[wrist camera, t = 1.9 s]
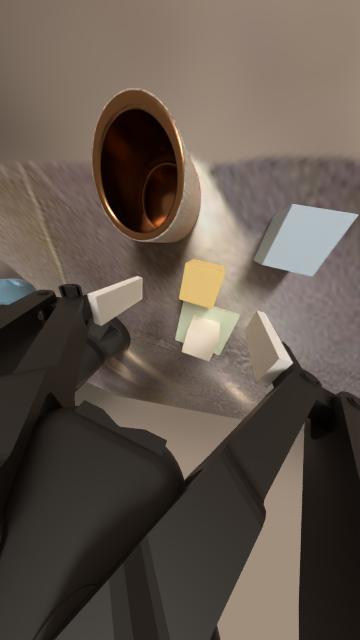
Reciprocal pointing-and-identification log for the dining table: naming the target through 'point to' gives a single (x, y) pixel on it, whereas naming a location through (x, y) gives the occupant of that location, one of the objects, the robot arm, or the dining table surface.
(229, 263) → the dining table surface
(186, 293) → the ochre brick
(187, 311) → the baseplate
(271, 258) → the blue brick
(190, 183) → the planter
